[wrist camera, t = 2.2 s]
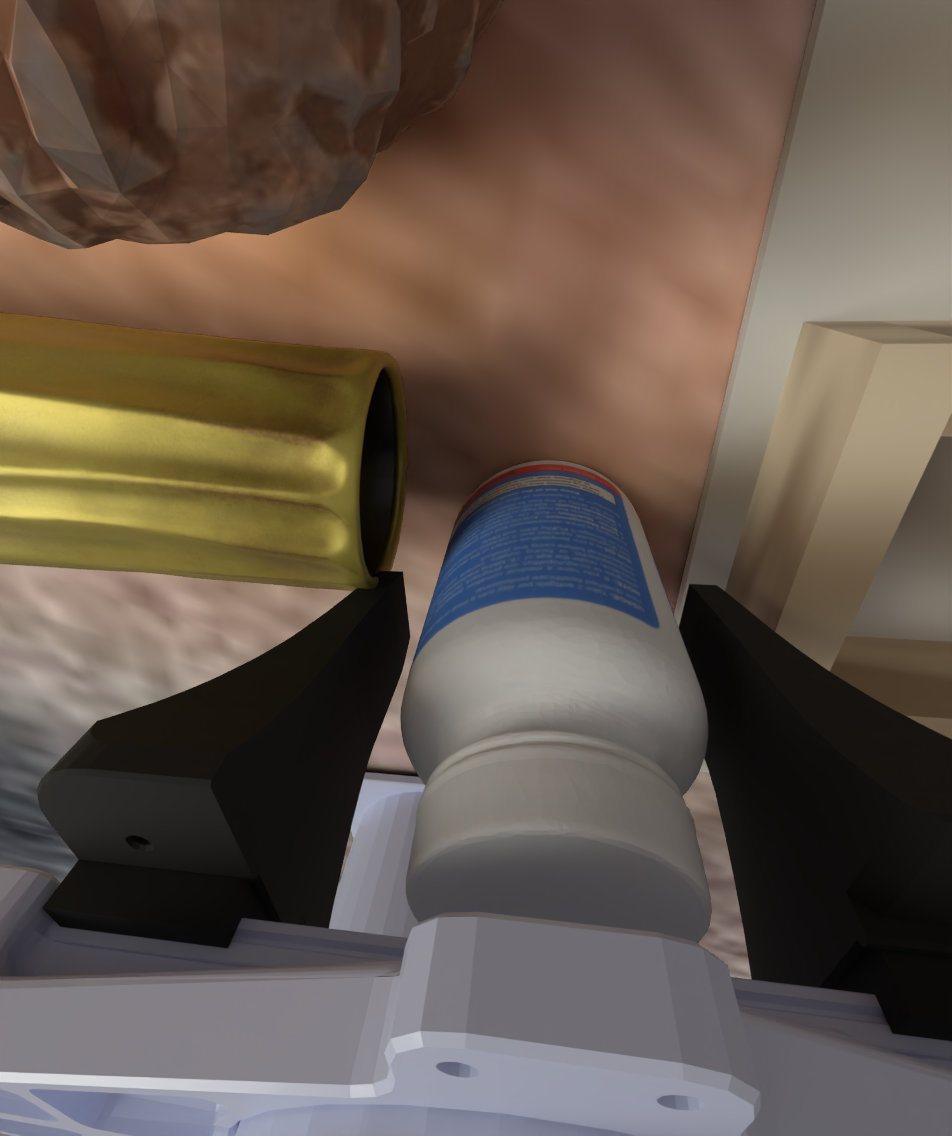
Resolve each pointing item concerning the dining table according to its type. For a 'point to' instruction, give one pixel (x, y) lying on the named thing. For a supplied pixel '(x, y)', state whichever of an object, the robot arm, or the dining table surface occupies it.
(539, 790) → the pill bottle
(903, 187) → the socket block
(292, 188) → the decorative rock
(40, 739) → the dining table surface
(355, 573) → the vase
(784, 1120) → the robot arm
